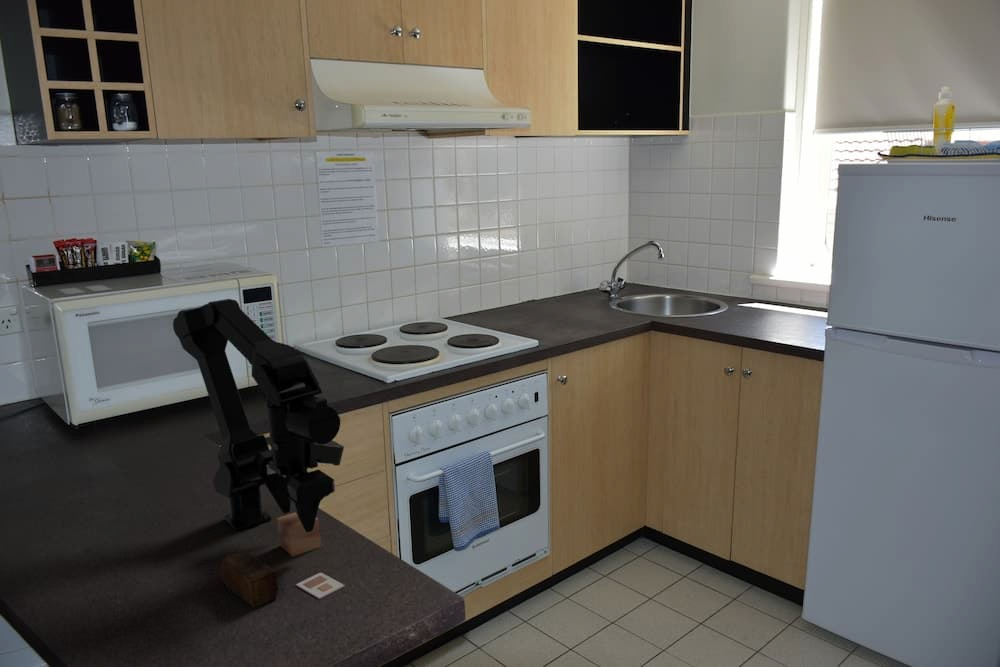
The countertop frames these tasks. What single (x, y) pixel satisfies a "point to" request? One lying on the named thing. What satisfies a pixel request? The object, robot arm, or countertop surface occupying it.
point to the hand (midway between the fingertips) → (297, 521)
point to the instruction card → (320, 585)
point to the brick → (249, 579)
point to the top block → (297, 535)
